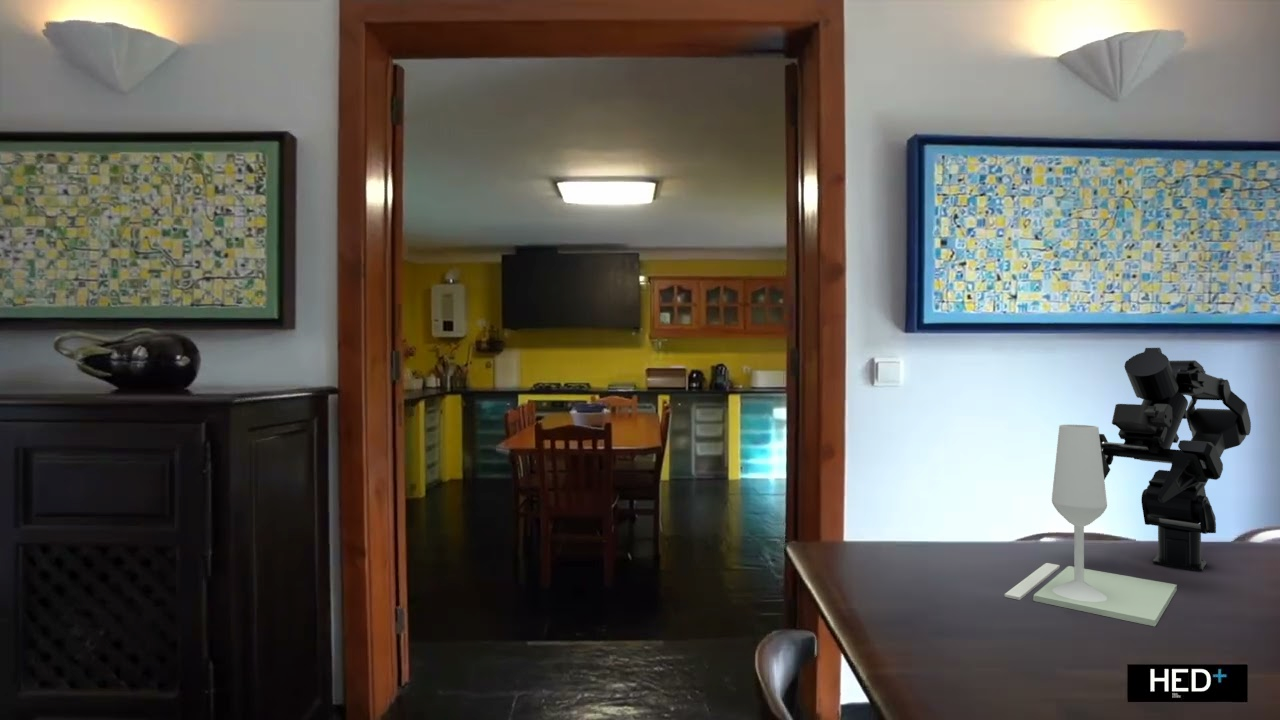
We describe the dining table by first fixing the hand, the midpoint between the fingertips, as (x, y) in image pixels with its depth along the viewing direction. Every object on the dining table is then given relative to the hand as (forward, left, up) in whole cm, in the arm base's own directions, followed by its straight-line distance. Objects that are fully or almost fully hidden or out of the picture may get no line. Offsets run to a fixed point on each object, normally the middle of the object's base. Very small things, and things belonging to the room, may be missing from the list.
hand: (1125, 495), depth 105 cm
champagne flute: (+12, -4, -13) cm, 18 cm away
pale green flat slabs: (+8, -3, -14) cm, 16 cm away
